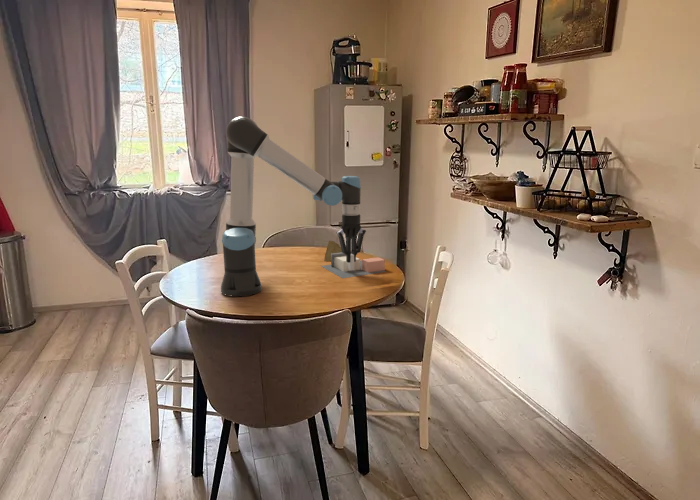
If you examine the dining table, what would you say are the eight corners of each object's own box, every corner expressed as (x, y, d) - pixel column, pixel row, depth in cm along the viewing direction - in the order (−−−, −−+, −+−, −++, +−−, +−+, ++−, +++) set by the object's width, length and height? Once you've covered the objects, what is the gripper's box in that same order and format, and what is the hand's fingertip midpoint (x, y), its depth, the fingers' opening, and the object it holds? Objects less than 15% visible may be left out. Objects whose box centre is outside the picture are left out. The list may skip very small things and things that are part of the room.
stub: (368, 272, 212) (368, 262, 210) (362, 269, 216) (362, 259, 215) (384, 270, 215) (384, 260, 214) (378, 267, 220) (378, 257, 219)
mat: (342, 280, 204) (342, 278, 203) (320, 268, 223) (320, 265, 222) (386, 273, 213) (386, 271, 213) (362, 262, 232) (362, 260, 232)
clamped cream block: (340, 271, 213) (340, 258, 212) (329, 265, 223) (328, 253, 222) (362, 268, 218) (362, 256, 216) (350, 262, 228) (350, 250, 227)
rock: (351, 254, 238) (331, 250, 240) (349, 243, 231) (329, 238, 234) (343, 272, 231) (323, 267, 234) (341, 260, 225) (321, 256, 228)
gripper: (340, 216, 199) (341, 273, 205) (369, 214, 205) (368, 269, 210) (332, 213, 206) (333, 269, 211) (360, 211, 212) (360, 265, 217)
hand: (351, 269), depth 211 cm, fingers closed
